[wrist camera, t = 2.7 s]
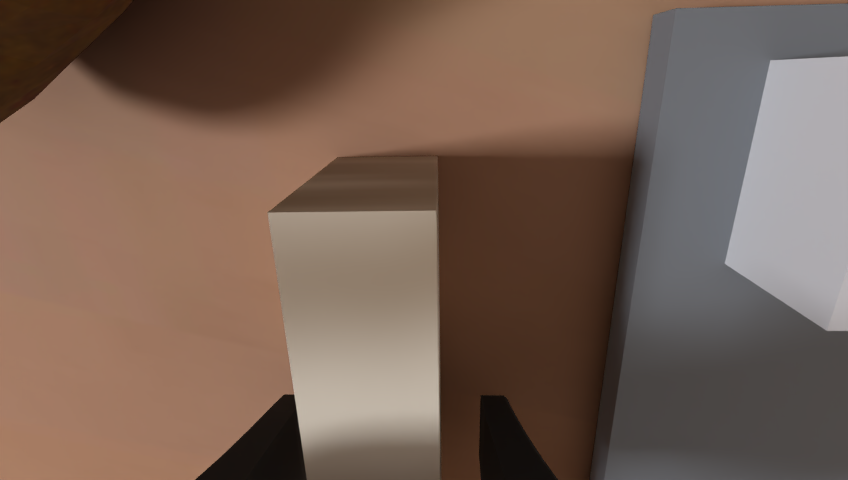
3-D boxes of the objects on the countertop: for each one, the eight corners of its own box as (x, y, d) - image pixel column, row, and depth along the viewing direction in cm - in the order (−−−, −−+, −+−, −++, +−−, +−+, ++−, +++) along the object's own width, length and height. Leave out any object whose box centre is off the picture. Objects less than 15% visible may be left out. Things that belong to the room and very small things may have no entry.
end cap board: (849, 619, 16) (973, 783, 12) (571, 613, 17) (609, 770, 13) (1138, 1, 9) (1601, -49, 6) (653, 14, 10) (786, -24, 6)
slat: (442, 547, 16) (443, 743, 11) (372, 546, 16) (345, 740, 11) (437, 154, 11) (436, 210, 7) (338, 156, 11) (267, 212, 7)
